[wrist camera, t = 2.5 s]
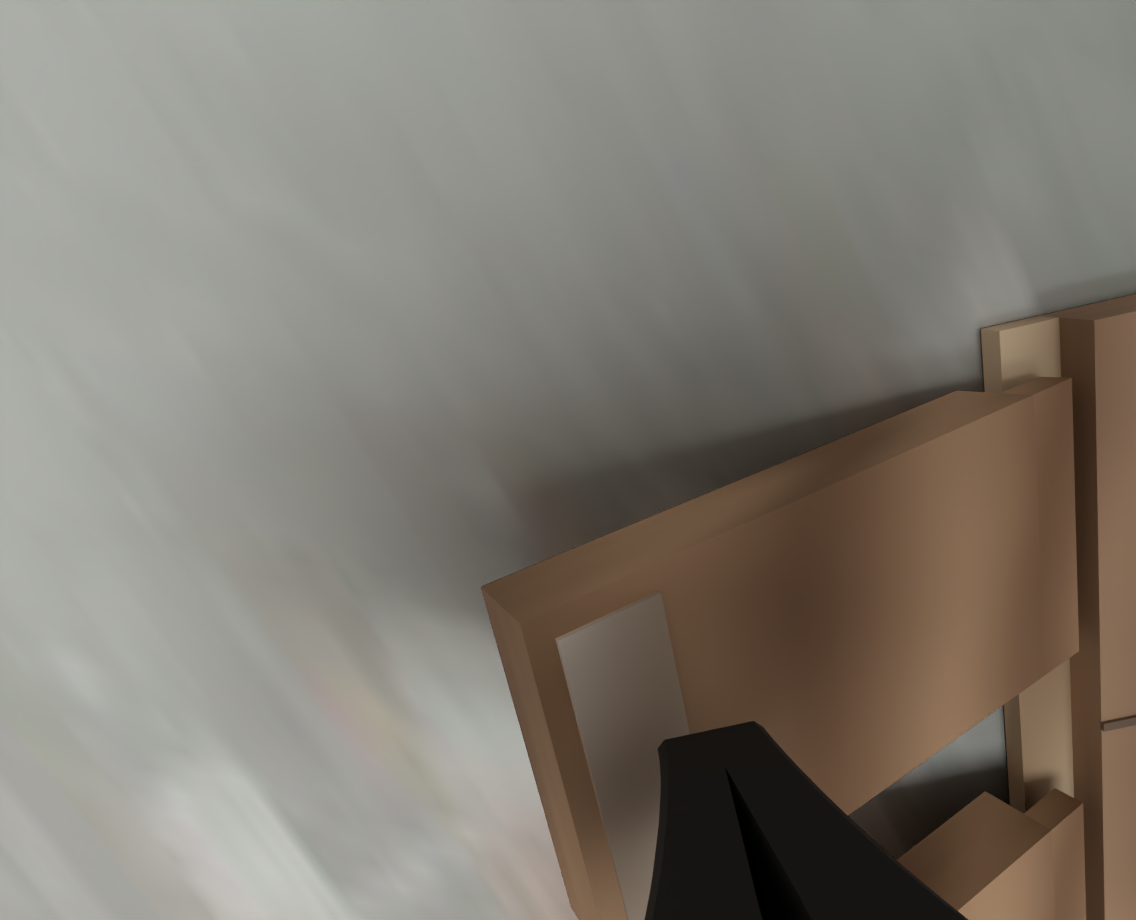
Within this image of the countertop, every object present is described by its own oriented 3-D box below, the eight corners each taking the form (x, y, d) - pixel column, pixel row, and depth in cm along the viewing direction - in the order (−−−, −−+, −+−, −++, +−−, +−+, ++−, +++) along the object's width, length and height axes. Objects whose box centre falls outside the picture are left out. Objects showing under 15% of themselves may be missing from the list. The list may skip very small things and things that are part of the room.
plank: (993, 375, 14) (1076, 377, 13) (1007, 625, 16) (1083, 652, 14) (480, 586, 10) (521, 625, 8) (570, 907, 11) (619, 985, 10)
